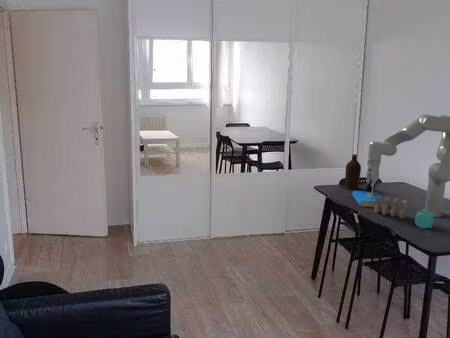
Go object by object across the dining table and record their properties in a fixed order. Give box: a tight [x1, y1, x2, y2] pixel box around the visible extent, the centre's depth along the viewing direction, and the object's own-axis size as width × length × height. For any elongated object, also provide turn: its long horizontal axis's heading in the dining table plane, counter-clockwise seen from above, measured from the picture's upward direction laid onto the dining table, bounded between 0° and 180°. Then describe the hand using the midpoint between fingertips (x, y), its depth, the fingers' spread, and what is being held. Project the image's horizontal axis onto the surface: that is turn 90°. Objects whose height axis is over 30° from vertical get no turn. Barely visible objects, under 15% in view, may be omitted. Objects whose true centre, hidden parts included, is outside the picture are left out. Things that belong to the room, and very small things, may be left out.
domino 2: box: [381, 196, 391, 216], centre depth 281 cm, size 2×5×10 cm, turn 145°
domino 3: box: [390, 197, 399, 217], centre depth 278 cm, size 2×5×10 cm, turn 145°
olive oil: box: [344, 153, 362, 191], centre depth 335 cm, size 11×11×25 cm
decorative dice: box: [414, 210, 435, 229], centre depth 262 cm, size 8×8×8 cm
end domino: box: [367, 180, 375, 198], centre depth 285 cm, size 2×5×10 cm, turn 145°
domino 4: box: [398, 199, 408, 220], centre depth 276 cm, size 2×5×10 cm, turn 145°
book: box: [351, 190, 384, 209], centre depth 306 cm, size 17×4×25 cm
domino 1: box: [373, 194, 382, 214], centre depth 284 cm, size 2×5×10 cm, turn 145°
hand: (370, 191), depth 285 cm, fingers closed on end domino, 4 cm apart
